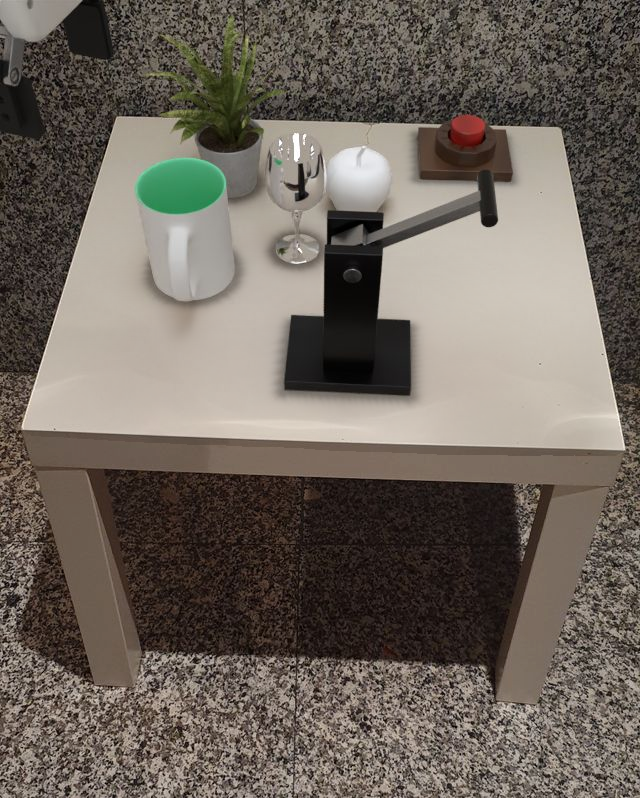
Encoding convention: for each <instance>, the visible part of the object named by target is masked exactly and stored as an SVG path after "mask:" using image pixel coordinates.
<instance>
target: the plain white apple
mask: <svg viewBox="0 0 640 798" xmlns="http://www.w3.org/2000/svg"><path fill="white" fill-rule="evenodd" d="M326 173H327V184H326V190H325V192H326V194H327V196H328V197H329V199H330V200H331V202H332V205H333V206H334V208H335V209H336V210H338V211H363V212H378V210H379V209H380V208H381V207H382V205H383V204H384V202H385V201H386V199H387V198H388V196H389V194H390V191H391V188H392V186H393V185H392V184H393V174H392V173H393V172H392V168H391V166H390V163H389V162H388V160H387V159H386V157H385V156H384V155H383V154H381V153H379V152H378V151H375V150H373V149H371V148H369V147H367V146H366V145H362V146H355V147H348V148H344V149H342V150H340V151H338V152H337V153H336V154H334V156H332V158H331V159H330V160H329V161H328V163H326Z"/></svg>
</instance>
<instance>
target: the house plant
mask: <svg viewBox="0 0 640 798" xmlns="http://www.w3.org/2000/svg"><path fill="white" fill-rule="evenodd" d="M234 22H235V17H234V13H232V14H231V15H230V17H229V19H228V21H227V24H226V27H225V32H224V37H223V38H224V40H223V44H222V45H223V46H222V54H221V61H222V64H221V68H220V69H221V71H220V77H219V79H218V77H217V76H216V74H215V73H214V72H213V71H212V70H211V69H210V68H209V67H207V66H206V65H205V64H204V62H203V60H202V57H201V56H200V55H199V54H198V52H197V51H196V50H195V49H193V48H192V47H191V46H189V44H186V43H183V42H179V41H177V40H175V39H174V38H171V37H170V36H168V35H165V34H164V35H163V34H160V33H158V35H159V36H161V37H163V38H164V39H166V40H167V41H169V42H170V43H171V44H173V45H174V46H175V47H176V49H178V50H179V51H180V52H181V53H182V55H183V56H184V57H185V60H187V62H188V64H189V65H190V67H191V70H192V71H193V72H194V73H195V75H196V76H197V78H198V79H199V80H200V82H201V84H202V85H203V87H204V88H205V90H206V91H207V93H206V92H205V91H204V90H203V89H202V88H201V87H200V86H199V85H197V84H196V83H194V82H193V81H191V80H190V79H189V78H187V77H186V76H184V75H182V74H179V73H176V72H173V71H158V72H156V71H155V72H148V73H145V74H144V76H166V78H160V79H158V81H163V80H166V81H167V80H170V81H175V82H177V84H178V85H180V87H181V88H182V89H183V90H184V91H180V92H177V93H175V94H174V95H172V97H171V98H170V99H169V102H170V101H190V102H192V103H193V104H194V105H195V106H196V107H197V108H198V109H176V110H175V109H174V110H170V111H165V112H162V113H160V114H158V115H156V117H159V116H160V117H162V119H167V118H177V119H179V120H177V121H176V122H175V124H174V125H173V127H172V129H171V131H170V134H169V135H171V134H172V133H173V132H175V131H178V130H182V129H183V131H182V134H181V137H180V138H181V139H180V143H179V144H180V146H181V145H182V143H183V142H184V141H186V140H188V139H190V138H192V137H194V142H195V145H196V148H197V151H198V155H199V157H200V160H204V161H207V162H209V163H211V164H213V165H215V166H216V167H218V168H219V169H220V170H221V171H222V173H223V174H224V176H225V179H226V187H227V197H228V199H237V198H242V197H245V196H247V195H249V194H251V193H252V192H253V191H255V189H256V187H257V185H258V178H259V169H260V161H261V160H260V159H261V152H262V142H263V140H264V132H265V129H264V128H263V127H261V125H260V124H259V123H258V121H256V120H255V119H253V118H252V117H251V115H250V114H251V112H252V111H253V110H254V108H255V107H256V106H257V105H258V104H260V103H261V102H263V101H265V100H267V99H268V98H271V97H275V96H276V95H286V93H285V92H284V91H282V90H281V89H279V90H278V89H273V90H269V91H267V92H266V90H265V89H264V88H263V87H259V86H260V85H261V84H262V83H263V82H264V80H265V79H266V78H267V77H268V76H269V75H270V74H271V73H272V72H273V71H274V70H275V69H276V67H274V68H273V69H272V70H270V71H269V72H267V74H265V76H264V77H263V79H262V80H261V81H260V82H258V84H257V85H256V86H255V87H254V88H253V90H252V91H250V92H249V93H247V90H248V86H249V82H250V78H251V76H252V72H253V69H254V66H255V61H256V53H257V43H258V41H257V38H256V39H255V41H254V44H253V46H252V50H251V52H250V54H249V35H248V33H246V36H245V39H244V44H243V47H242V51H241V56H240V57H241V58H240V63H239V67H238V71H237V73H236V74H234V73H233V62H234V61H233V60H234V59H233V58H234V48H235V44H236V42H237V39H238V38H239V37H240V35H241V32H242V30H240V31H238V32H237V33H235V25H234ZM248 55H249V57H248ZM195 59H196V60H195ZM279 66H280V65H279V64H278V65H277V67H279ZM168 77H169V78H168ZM187 83H188V84H190V85H191V86H192V87H194V88H195V89H197V90H198V91H199V92H197V91H193V90H192V88H191V87H190V85H188V84H187ZM255 92H264V94H262V95H260V96H259V97H258V98H257V99H256V100H255V101H254V102H253V103H252V104H251V105H250V106H249V108H248V110H247V112H246V113H245V110H246V108H247V107H248V105H249V103H250V102H251V100H252V97H253V96H254V94H255ZM197 95H198V96H197ZM199 96H200V97H201V98H202V99H201V98H200V97H199ZM203 99H204V100H205V101H206V102H207V103H208V104H209V105H207V103H206V102H204V101H203ZM209 106H210V107H211V108H212V109H211V108H210V107H209ZM244 113H245V114H244ZM243 114H244V115H243Z"/></svg>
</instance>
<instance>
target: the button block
mask: <svg viewBox="0 0 640 798" xmlns="http://www.w3.org/2000/svg"><path fill="white" fill-rule="evenodd" d="M454 119H455V118H453V119H450V120H449V119H448V120H446V121H444V122H443V123H442V124H440V126H439V127H423V126H419V127H417V150H418V151H417V152H418V170H419V171H418V172H419V174H418V175H419V179H420V180H446V181H447V180H449V181H477V175H478V173H479V172H480V171H482V170H490V171H491V172H492V173H493V178H494V182H511V181H512V179H513V175H514V171H513V165H512V159H511V158H512V157H511V153H510V146H509V141H508V133H507V129H502V128H501V129H498V128H492V126H491V125H489V124H488V123H487V122H484V123H485V130H484V135H483V141H482V142H481V144H479V145H477V146H474V147H464V146H460V145H457V144H455V143H453V142H452V141H451V139H450V132H451V125H452V121H453V120H454Z"/></svg>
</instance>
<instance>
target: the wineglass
mask: <svg viewBox="0 0 640 798" xmlns="http://www.w3.org/2000/svg"><path fill="white" fill-rule="evenodd" d="M326 166H327V164H326V160H325V156H324V152H323V149H322V146H321V143H320V142H319V140H318V139H316V138H315V137H313V136H312V135H309V134H307V133H302V132H289V133H285V134H282V135H279V136H277V137H275V138H274V139H273V140H272V141H271V143H270V145H269V148H268V153H267V157H266V161H265V167H264V168H265V169H264V183H265V188H266V192H267V195H268V197H269V199H270V201H272V203H273V204H274V205H275V206H277V207H278V208H279V209H281V210H283V211H287V212H289V213H290V212H291V218H292V221H293V224H294V233H293V234H288V235H285V236H284V237H282V238H281V239H279V240H278V242H277V243H276V245H275V253H276V255H277V257H278V258H279V259H280V260H282V261H283V262H285V263H288V264H292V265H302V264H307V263H309V262H312V261H314V260H315V259H316V258H318V256H319V253H320V244H319V242H318V241H317V240H316V239H315V238H314V237H312V236H310V235H307V234H304V233H301V232H300V226H301V225H300V223H301V219H302V216H303V212H306V211H307V212H308V211H309V210H312V209H314V208H315V207H316V206H317V205H318V204H319V203H320V202H321V200H322V199H323V198H324V195H325V193H326V184H327V173H326Z"/></svg>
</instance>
